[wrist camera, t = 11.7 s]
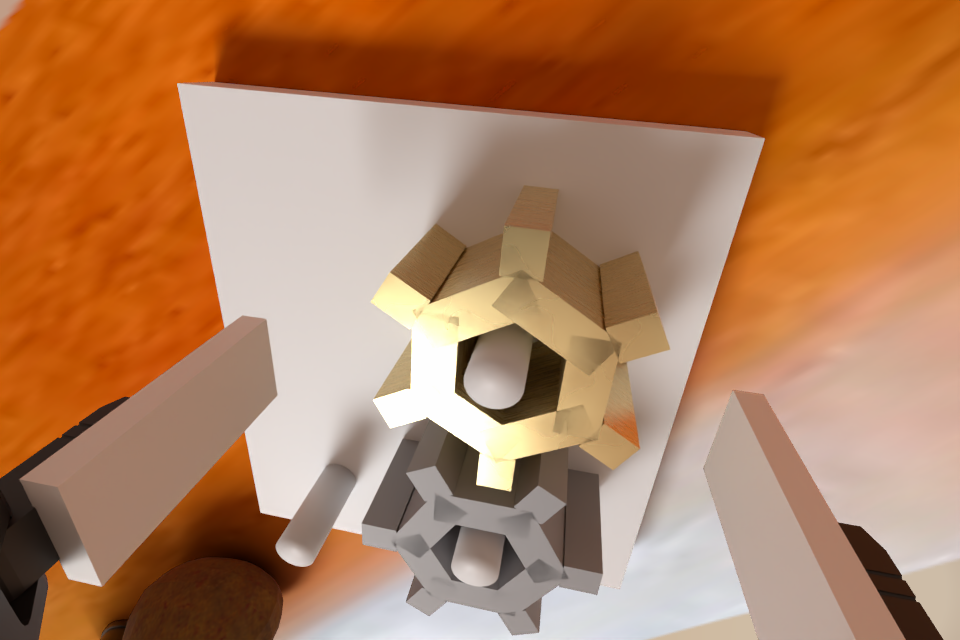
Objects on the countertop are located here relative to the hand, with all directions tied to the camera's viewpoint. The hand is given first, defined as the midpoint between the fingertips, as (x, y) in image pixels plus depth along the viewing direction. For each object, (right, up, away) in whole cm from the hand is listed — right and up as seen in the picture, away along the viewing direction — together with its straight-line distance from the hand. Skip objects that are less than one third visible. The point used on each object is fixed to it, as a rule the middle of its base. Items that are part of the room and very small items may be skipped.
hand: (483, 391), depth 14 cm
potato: (-18, -16, +21) cm, 32 cm away
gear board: (-2, 0, +9) cm, 9 cm away
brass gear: (+2, +3, +5) cm, 6 cm away
